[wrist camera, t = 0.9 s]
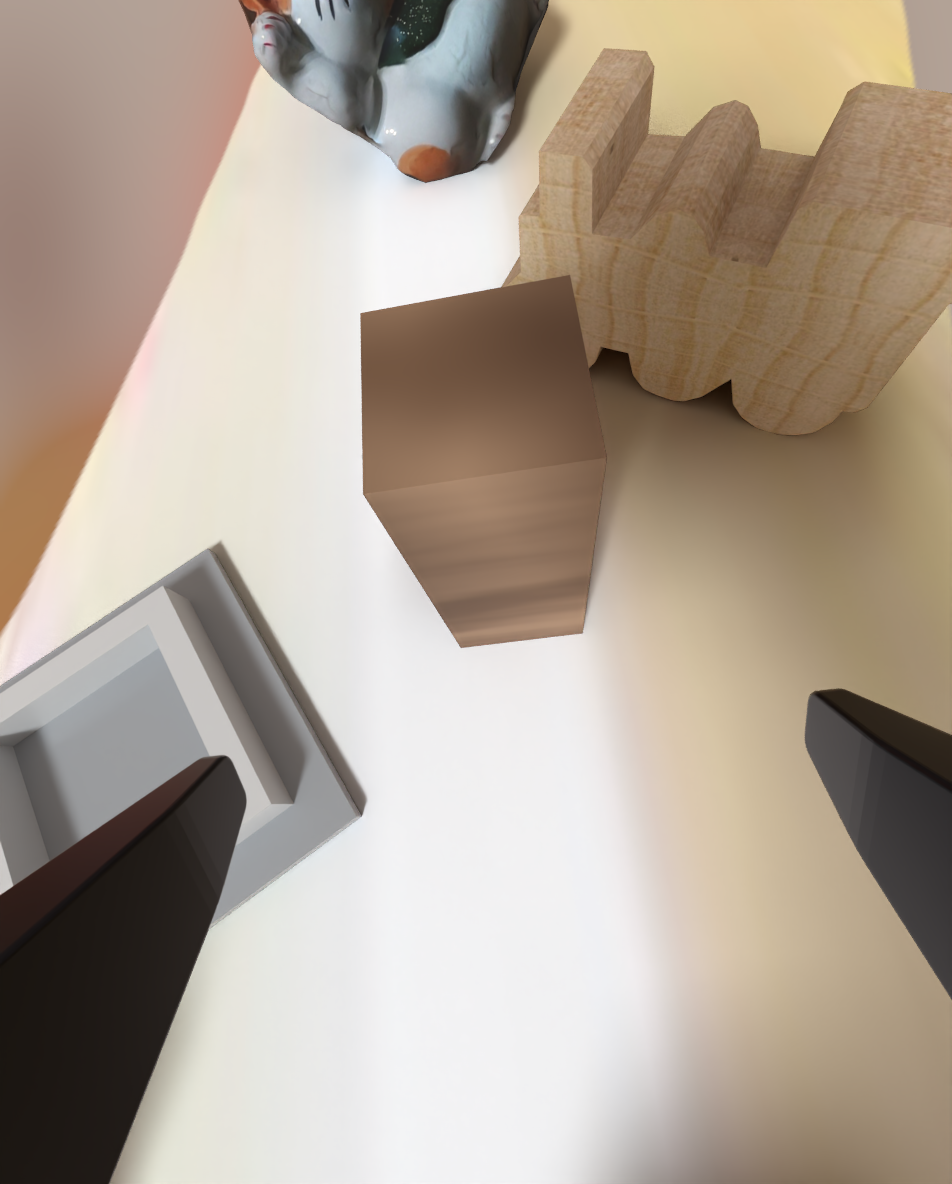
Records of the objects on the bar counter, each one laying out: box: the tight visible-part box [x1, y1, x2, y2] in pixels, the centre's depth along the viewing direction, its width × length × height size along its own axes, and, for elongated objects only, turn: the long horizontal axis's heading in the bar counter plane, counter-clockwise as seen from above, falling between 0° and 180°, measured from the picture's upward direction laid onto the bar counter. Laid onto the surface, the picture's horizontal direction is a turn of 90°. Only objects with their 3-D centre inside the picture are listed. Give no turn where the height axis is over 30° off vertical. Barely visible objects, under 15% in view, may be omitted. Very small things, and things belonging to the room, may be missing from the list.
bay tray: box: [0, 549, 362, 929], centre depth 22 cm, size 14×14×2 cm
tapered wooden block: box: [361, 275, 607, 648], centre depth 18 cm, size 5×5×12 cm
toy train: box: [502, 48, 952, 435], centre depth 22 cm, size 6×17×10 cm, turn 63°
